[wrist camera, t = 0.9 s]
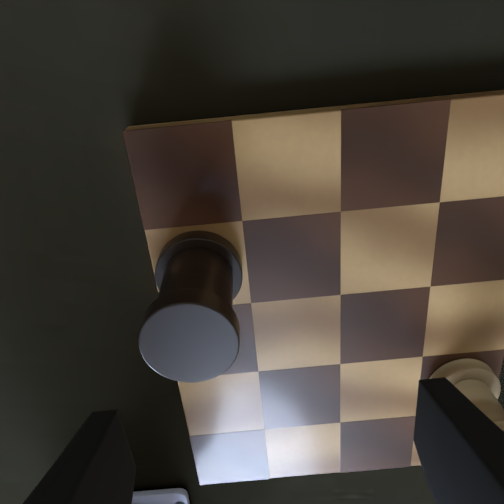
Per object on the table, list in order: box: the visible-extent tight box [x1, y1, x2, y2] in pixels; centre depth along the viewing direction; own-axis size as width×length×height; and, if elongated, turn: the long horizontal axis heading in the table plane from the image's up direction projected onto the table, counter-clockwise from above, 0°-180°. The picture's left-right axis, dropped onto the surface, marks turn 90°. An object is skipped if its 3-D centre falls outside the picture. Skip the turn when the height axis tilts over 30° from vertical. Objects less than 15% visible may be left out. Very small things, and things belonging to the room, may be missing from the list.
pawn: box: [429, 358, 504, 431], centre depth 20 cm, size 3×3×6 cm
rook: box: [138, 230, 243, 383], centre depth 17 cm, size 4×4×5 cm
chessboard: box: [123, 90, 504, 485], centre depth 21 cm, size 20×16×1 cm
